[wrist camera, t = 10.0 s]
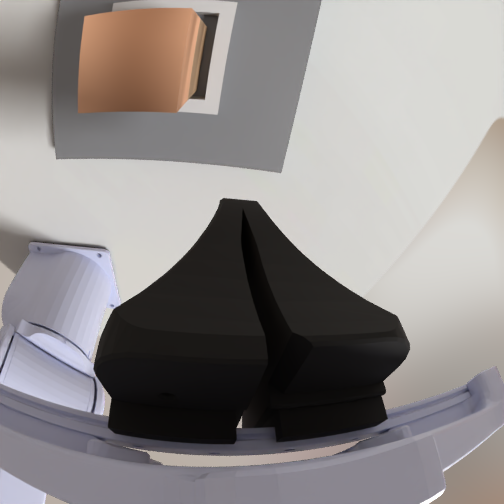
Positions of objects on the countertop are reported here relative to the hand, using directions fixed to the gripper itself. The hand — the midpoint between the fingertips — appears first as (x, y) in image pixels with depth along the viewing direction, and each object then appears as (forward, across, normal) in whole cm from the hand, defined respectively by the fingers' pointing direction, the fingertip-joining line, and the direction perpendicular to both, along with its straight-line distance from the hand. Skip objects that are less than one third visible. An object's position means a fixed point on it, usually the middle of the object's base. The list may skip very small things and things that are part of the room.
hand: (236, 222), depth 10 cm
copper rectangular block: (+8, +4, -6) cm, 11 cm away
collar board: (+10, +4, -6) cm, 12 cm away
